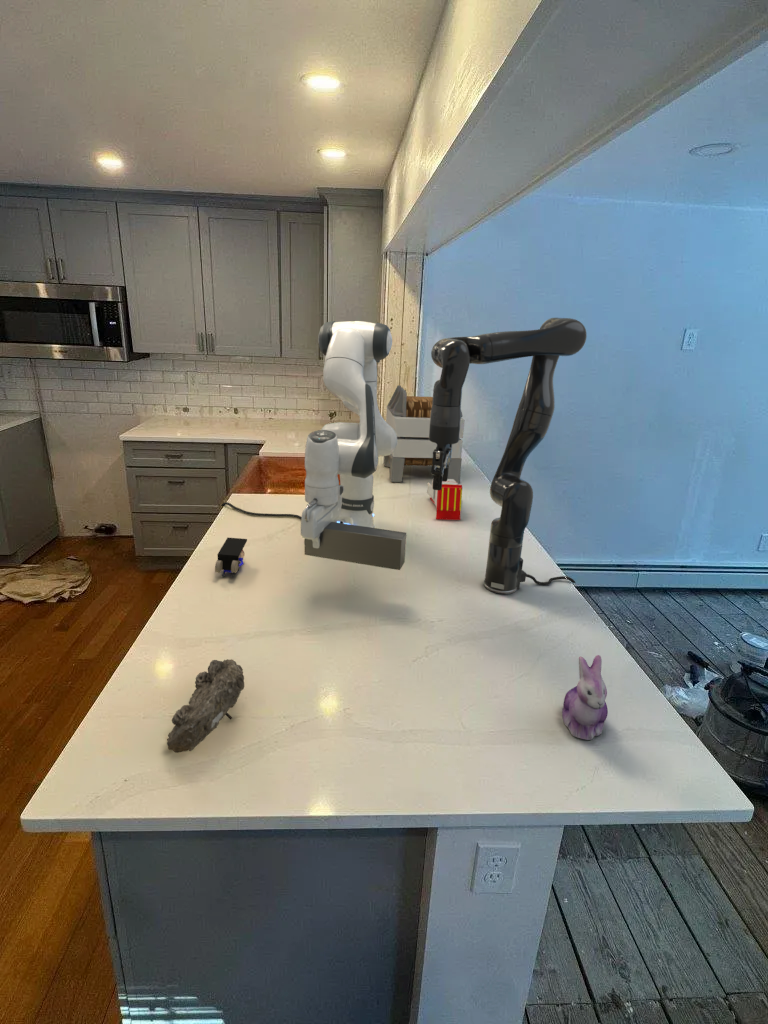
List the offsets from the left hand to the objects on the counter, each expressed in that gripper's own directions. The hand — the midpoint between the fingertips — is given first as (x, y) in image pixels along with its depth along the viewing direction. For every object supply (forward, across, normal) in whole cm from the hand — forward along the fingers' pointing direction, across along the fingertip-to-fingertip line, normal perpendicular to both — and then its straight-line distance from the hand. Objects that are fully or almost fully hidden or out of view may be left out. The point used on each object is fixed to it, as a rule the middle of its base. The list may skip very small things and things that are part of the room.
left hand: (321, 542), depth 153 cm
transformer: (+15, +129, +1) cm, 130 cm away
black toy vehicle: (+15, +3, +29) cm, 33 cm away
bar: (+3, 0, -9) cm, 10 cm away
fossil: (+14, -54, 0) cm, 56 cm away
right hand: (-18, +8, -30) cm, 35 cm away
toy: (+15, +82, -19) cm, 86 cm away
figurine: (+14, -34, -68) cm, 77 cm away
